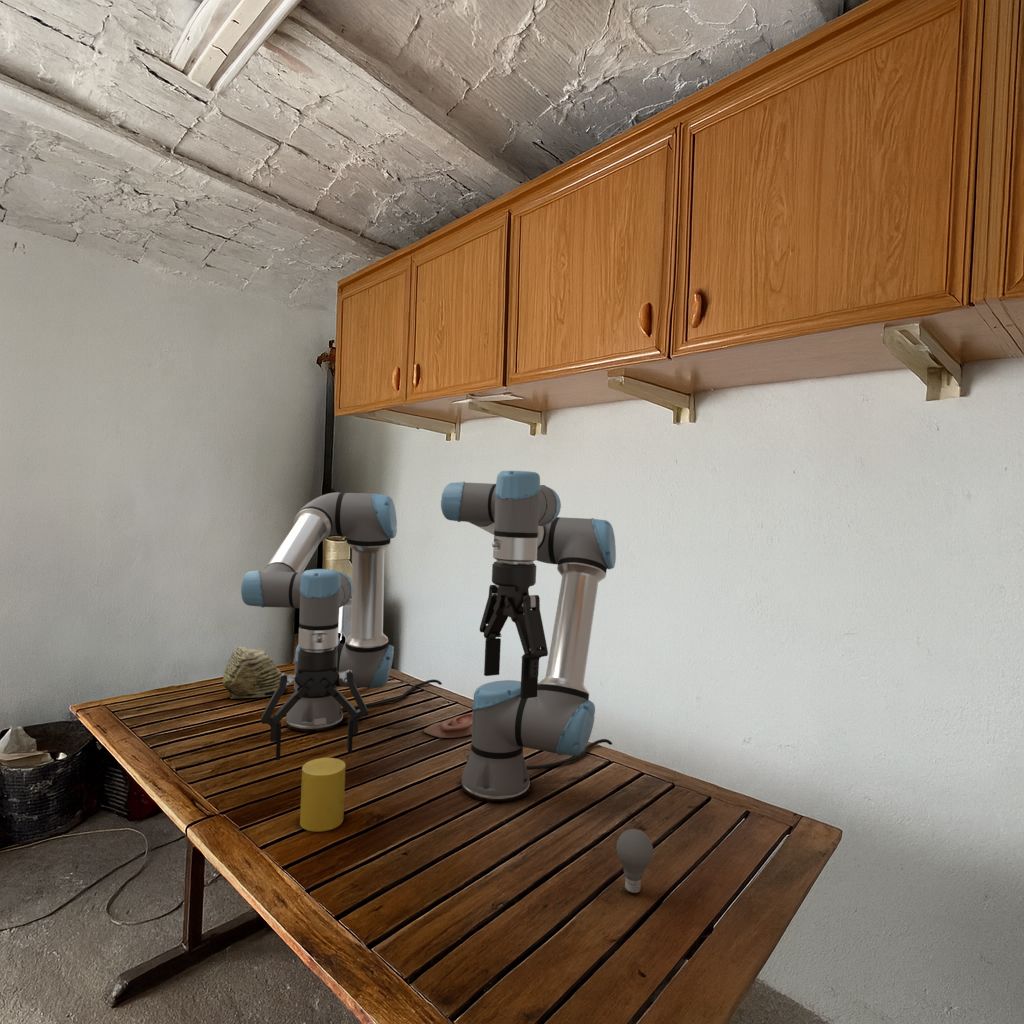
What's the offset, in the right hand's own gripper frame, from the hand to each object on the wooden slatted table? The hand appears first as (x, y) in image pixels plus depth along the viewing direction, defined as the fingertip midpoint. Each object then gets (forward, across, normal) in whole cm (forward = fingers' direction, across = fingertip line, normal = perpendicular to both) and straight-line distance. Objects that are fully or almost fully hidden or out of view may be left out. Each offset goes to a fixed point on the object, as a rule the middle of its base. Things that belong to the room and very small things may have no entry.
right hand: (509, 685), depth 108 cm
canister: (+33, -30, -24) cm, 51 cm away
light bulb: (+33, +13, +18) cm, 40 cm away
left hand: (+20, -33, -25) cm, 47 cm away
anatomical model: (+33, -65, +17) cm, 75 cm away
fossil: (+33, -116, -28) cm, 123 cm away
